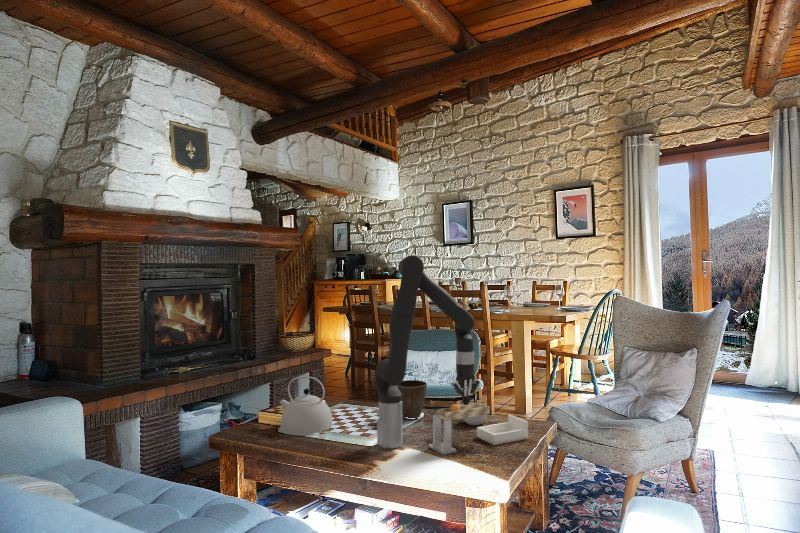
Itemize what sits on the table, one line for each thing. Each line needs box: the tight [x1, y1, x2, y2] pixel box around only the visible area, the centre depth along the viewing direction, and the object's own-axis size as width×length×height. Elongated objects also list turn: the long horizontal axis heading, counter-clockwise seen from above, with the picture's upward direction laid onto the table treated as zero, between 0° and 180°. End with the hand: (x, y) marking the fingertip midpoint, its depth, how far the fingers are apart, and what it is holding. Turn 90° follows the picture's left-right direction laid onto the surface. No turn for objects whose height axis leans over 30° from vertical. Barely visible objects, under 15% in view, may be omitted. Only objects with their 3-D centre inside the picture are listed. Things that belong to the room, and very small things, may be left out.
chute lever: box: [437, 402, 491, 421], centre depth 207 cm, size 20×15×3 cm
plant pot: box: [397, 379, 428, 418], centre depth 242 cm, size 15×15×16 cm
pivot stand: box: [428, 414, 457, 456], centre depth 198 cm, size 6×10×12 cm, turn 27°
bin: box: [476, 414, 529, 446], centre depth 211 cm, size 17×12×7 cm
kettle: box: [279, 375, 334, 436], centre depth 229 cm, size 25×23×23 cm
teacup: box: [462, 402, 487, 426], centre depth 233 cm, size 14×11×8 cm
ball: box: [449, 403, 460, 412], centre depth 201 cm, size 4×4×4 cm
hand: (465, 404), depth 212 cm, fingers closed
